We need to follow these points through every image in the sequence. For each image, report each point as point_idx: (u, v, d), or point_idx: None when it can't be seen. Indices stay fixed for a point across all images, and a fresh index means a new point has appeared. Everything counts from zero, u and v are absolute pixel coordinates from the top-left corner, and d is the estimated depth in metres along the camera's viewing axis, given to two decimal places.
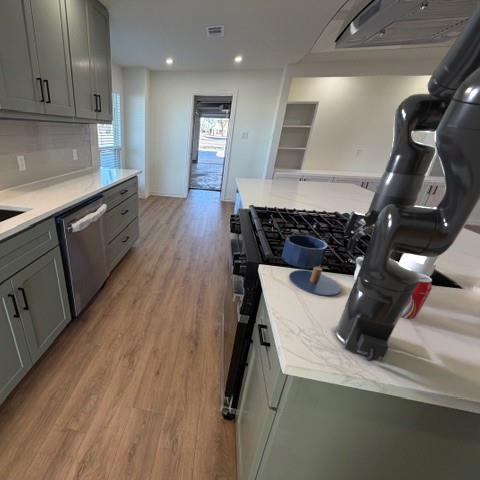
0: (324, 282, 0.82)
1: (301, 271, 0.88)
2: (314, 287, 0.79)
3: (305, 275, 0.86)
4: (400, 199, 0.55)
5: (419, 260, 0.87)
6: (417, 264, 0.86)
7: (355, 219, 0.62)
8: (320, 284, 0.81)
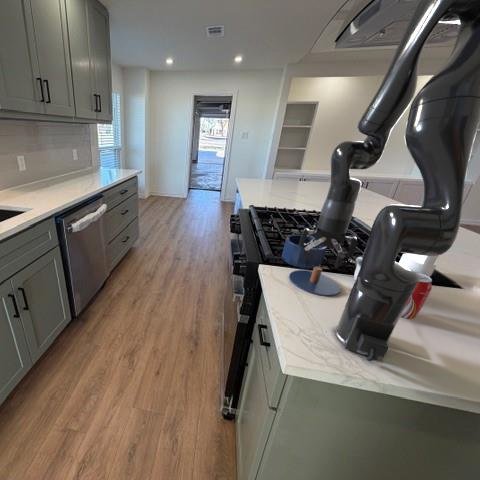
0: (324, 282, 0.82)
1: (301, 271, 0.88)
2: (314, 287, 0.79)
3: (305, 275, 0.86)
4: (336, 220, 0.71)
5: (419, 260, 0.87)
6: (417, 264, 0.86)
7: (306, 234, 0.78)
8: (320, 284, 0.81)
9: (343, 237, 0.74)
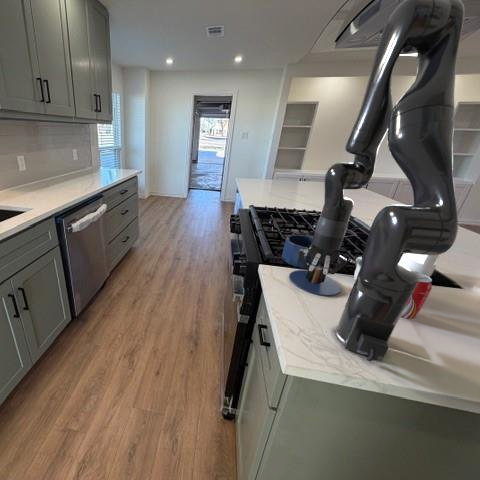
0: (324, 282, 0.82)
1: (301, 271, 0.88)
2: (314, 287, 0.79)
3: (305, 275, 0.86)
4: (330, 238, 0.73)
5: (419, 260, 0.87)
6: (417, 264, 0.86)
7: (302, 255, 0.80)
8: (320, 284, 0.81)
9: (337, 255, 0.76)
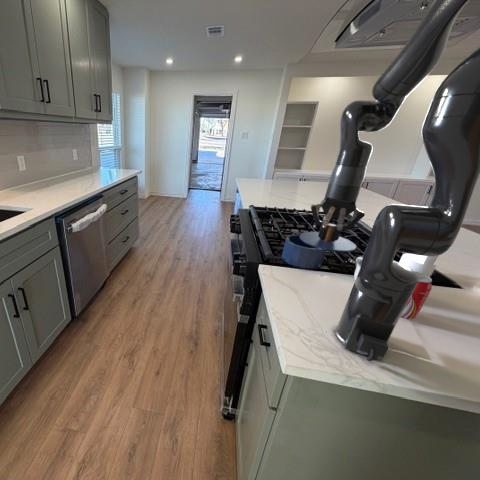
0: (337, 240, 0.76)
1: (312, 232, 0.82)
2: (328, 244, 0.73)
3: (317, 235, 0.80)
4: (346, 187, 0.67)
5: (419, 260, 0.87)
6: (417, 264, 0.86)
7: (315, 210, 0.74)
8: (334, 242, 0.75)
9: (354, 207, 0.70)
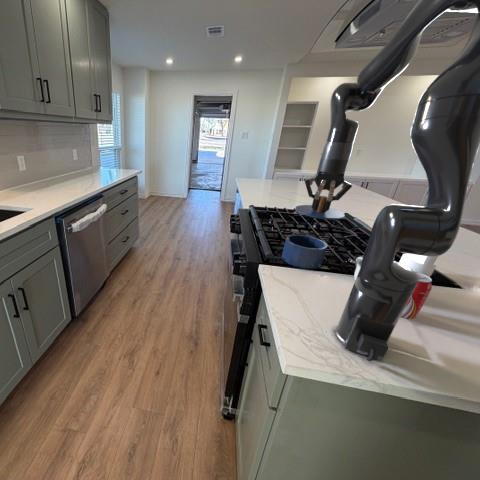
0: (329, 211, 0.86)
1: (306, 205, 0.92)
2: (319, 214, 0.83)
3: (310, 207, 0.89)
4: (335, 161, 0.76)
5: (419, 260, 0.87)
6: (417, 264, 0.86)
7: (308, 183, 0.83)
8: (325, 212, 0.84)
9: (342, 179, 0.79)
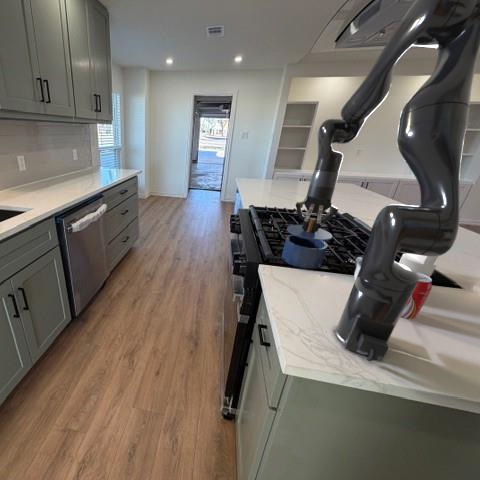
0: (318, 232, 0.93)
1: (298, 225, 0.99)
2: (309, 235, 0.90)
3: (301, 227, 0.96)
4: (322, 188, 0.83)
5: (419, 260, 0.87)
6: (417, 264, 0.86)
7: (299, 206, 0.90)
8: (314, 233, 0.91)
9: (329, 204, 0.86)
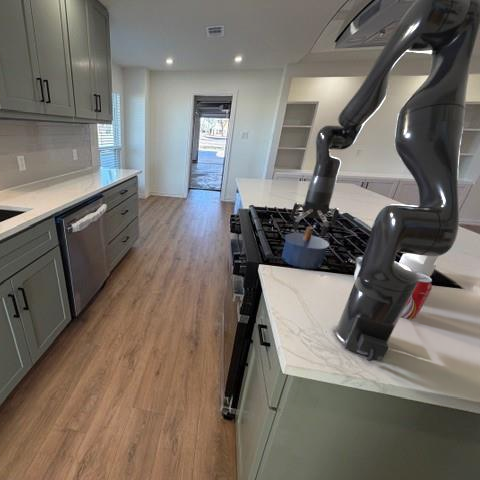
0: (315, 240, 0.94)
1: (295, 233, 1.00)
2: (306, 243, 0.91)
3: (299, 236, 0.98)
4: (320, 193, 0.84)
5: (419, 260, 0.87)
6: (417, 264, 0.86)
7: (296, 207, 0.91)
8: (312, 242, 0.93)
9: (327, 208, 0.87)
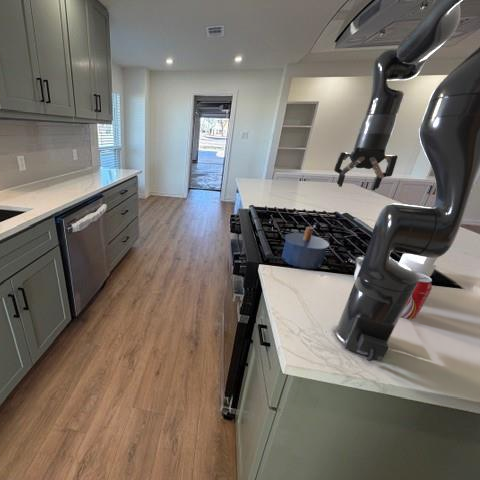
0: (315, 240, 0.94)
1: (295, 233, 1.00)
2: (306, 243, 0.91)
3: (299, 236, 0.98)
4: (377, 135, 0.70)
5: (419, 260, 0.87)
6: (417, 264, 0.86)
7: (343, 157, 0.77)
8: (312, 242, 0.93)
9: (382, 155, 0.73)
